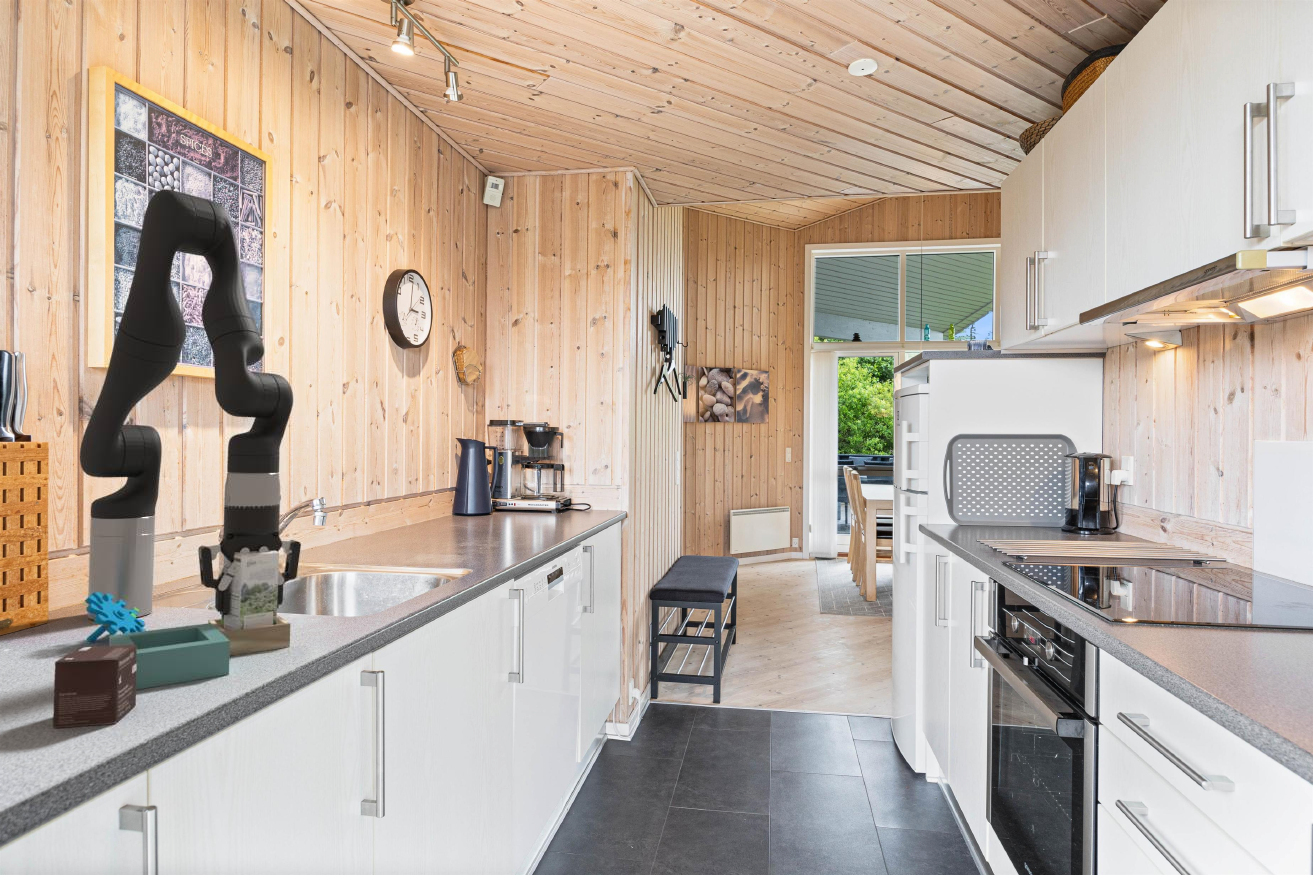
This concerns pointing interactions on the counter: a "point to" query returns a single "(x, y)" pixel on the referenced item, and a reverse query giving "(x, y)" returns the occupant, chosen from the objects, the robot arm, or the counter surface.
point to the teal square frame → (177, 654)
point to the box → (94, 686)
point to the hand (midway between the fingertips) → (249, 610)
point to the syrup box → (252, 591)
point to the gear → (112, 616)
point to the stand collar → (256, 637)
